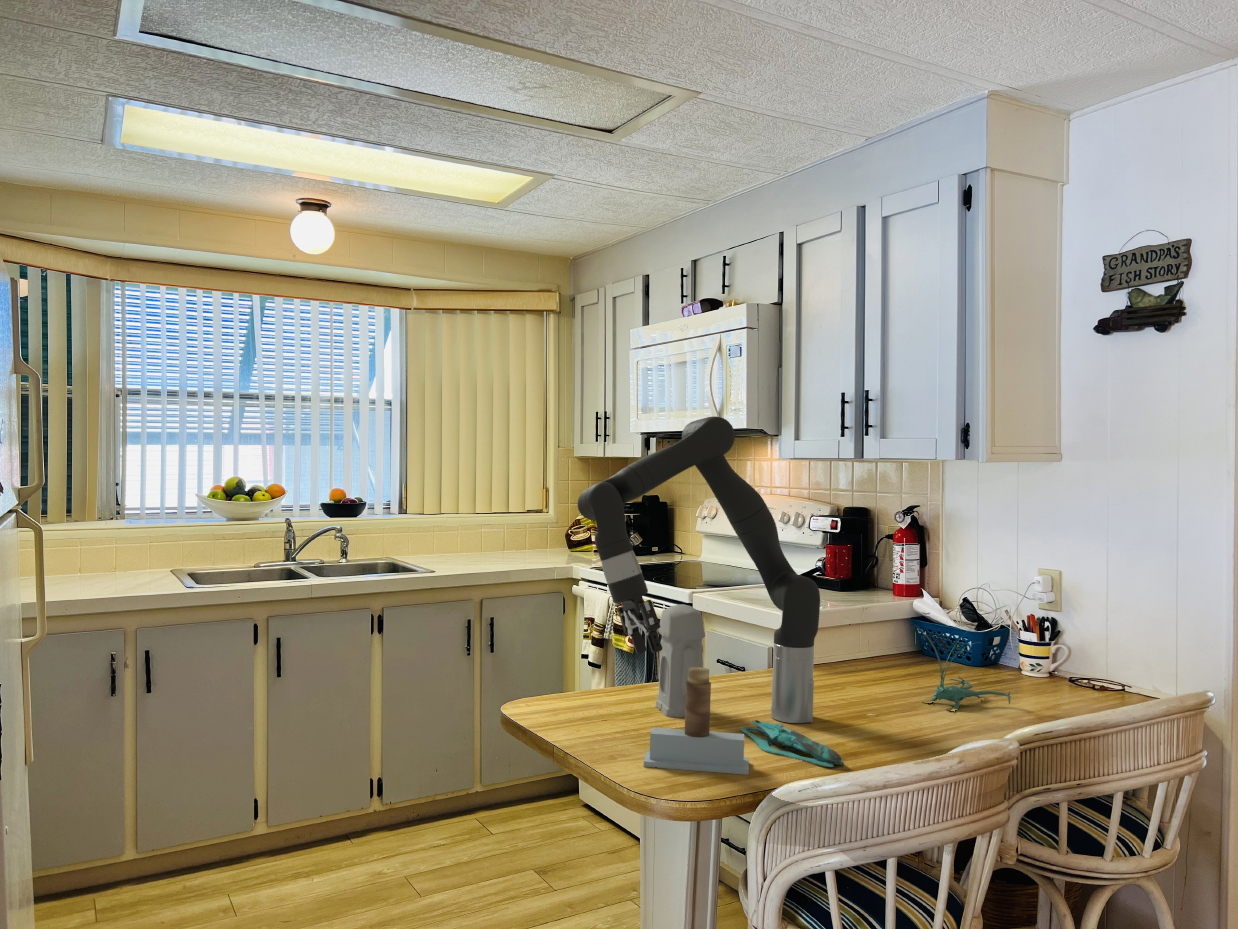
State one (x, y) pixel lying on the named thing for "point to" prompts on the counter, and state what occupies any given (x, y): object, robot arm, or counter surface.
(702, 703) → the pepper mill
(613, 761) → the counter surface
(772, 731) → the toy spaceship
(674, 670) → the grey moai statue
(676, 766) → the rail
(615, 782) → the counter surface
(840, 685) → the counter surface
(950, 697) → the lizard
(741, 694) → the counter surface
